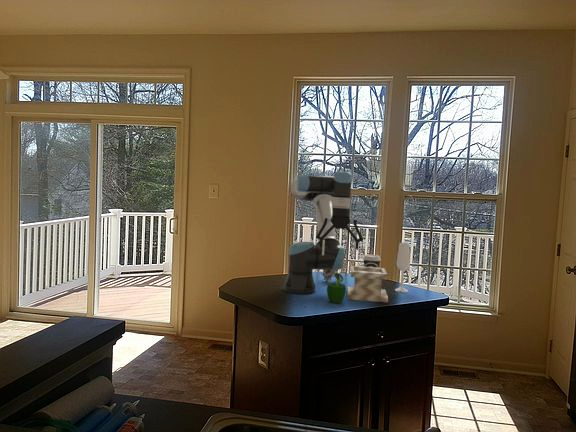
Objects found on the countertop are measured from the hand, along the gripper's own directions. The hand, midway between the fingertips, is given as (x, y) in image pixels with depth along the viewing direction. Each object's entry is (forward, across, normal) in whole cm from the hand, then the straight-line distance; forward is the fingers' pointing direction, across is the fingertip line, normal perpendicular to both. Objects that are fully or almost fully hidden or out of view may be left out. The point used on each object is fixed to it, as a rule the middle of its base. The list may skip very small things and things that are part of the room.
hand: (338, 256), depth 201 cm
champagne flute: (+21, +32, +35) cm, 52 cm away
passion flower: (+21, -3, +44) cm, 49 cm away
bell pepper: (+21, 0, 0) cm, 21 cm away
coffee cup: (+21, +17, +47) cm, 54 cm away
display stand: (+20, +14, +16) cm, 29 cm away
